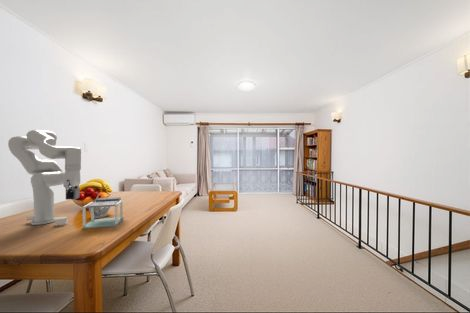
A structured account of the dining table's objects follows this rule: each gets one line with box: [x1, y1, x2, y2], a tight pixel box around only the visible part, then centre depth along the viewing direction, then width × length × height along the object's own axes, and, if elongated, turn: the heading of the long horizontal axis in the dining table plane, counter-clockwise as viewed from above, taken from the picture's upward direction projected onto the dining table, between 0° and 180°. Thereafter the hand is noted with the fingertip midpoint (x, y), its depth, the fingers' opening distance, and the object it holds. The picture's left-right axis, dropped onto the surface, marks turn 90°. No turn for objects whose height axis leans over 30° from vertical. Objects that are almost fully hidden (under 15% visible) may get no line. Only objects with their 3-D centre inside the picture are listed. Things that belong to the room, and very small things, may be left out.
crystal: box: [88, 195, 112, 219], centre depth 143 cm, size 10×13×15 cm
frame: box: [81, 199, 124, 230], centre depth 127 cm, size 18×15×12 cm
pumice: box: [54, 216, 68, 227], centre depth 126 cm, size 5×4×4 cm
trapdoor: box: [87, 196, 121, 209], centre depth 130 cm, size 15×17×4 cm
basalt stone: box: [65, 187, 80, 201], centre depth 123 cm, size 5×5×6 cm
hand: (72, 197), depth 123 cm, fingers closed on basalt stone, 5 cm apart
